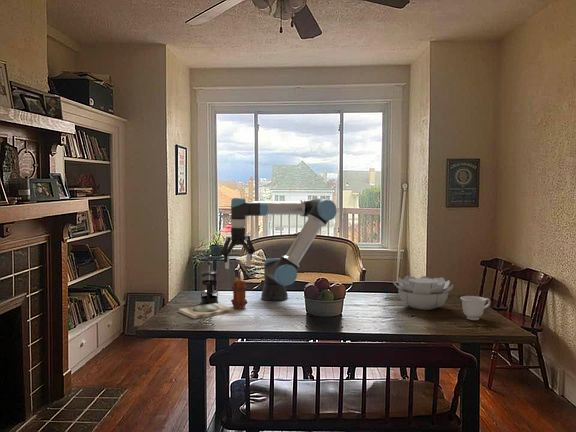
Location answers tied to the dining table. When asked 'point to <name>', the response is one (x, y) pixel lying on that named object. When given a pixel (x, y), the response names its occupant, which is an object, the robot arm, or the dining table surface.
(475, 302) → the teacup
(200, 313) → the serving board
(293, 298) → the dining table surface
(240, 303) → the mug
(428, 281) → the decorative bowl
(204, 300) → the french press
